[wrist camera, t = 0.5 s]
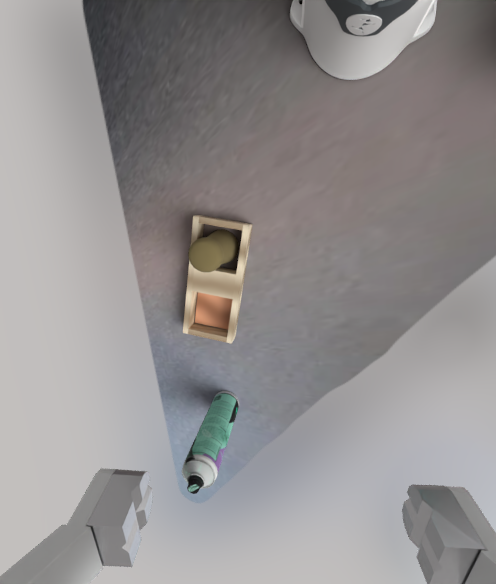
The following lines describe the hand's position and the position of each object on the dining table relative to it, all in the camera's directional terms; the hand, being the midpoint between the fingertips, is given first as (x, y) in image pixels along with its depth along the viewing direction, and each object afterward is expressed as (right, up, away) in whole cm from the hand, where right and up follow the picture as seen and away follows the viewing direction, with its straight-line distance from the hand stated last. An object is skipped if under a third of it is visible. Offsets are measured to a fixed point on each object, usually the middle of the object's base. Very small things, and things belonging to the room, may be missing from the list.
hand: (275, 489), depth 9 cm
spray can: (-5, -17, +52) cm, 55 cm away
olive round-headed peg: (-5, +14, +43) cm, 46 cm away
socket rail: (-6, +9, +45) cm, 46 cm away
